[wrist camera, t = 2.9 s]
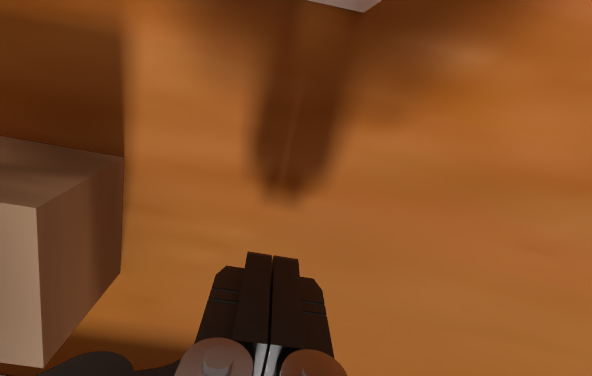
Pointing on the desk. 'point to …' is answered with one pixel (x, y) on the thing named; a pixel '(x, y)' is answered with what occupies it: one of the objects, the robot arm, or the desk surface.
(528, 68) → the desk surface
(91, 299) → the walnut block
